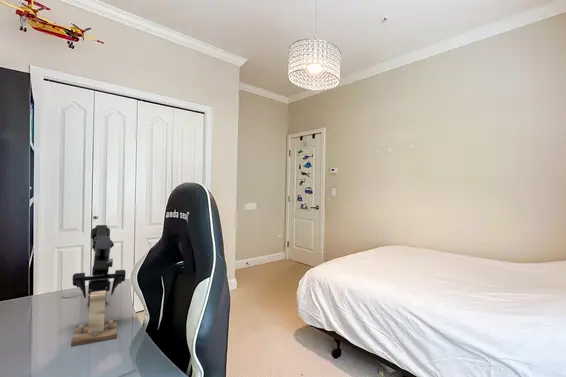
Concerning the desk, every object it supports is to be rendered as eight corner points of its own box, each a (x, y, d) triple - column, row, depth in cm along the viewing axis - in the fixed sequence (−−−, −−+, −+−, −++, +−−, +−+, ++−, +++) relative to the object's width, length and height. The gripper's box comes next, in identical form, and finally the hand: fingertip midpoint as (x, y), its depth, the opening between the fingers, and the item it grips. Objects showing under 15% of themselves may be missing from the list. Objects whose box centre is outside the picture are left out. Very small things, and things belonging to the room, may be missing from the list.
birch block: (89, 328, 114) (91, 292, 114) (104, 326, 117) (106, 290, 117) (87, 333, 110) (90, 296, 110) (103, 331, 112) (105, 294, 113)
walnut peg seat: (75, 329, 116) (76, 319, 116) (116, 323, 123) (117, 313, 123) (71, 346, 103) (71, 334, 104) (116, 338, 110) (117, 327, 110)
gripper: (74, 253, 118) (68, 289, 109) (126, 251, 128) (125, 283, 118) (75, 268, 125) (70, 303, 115) (125, 265, 134) (124, 297, 124)
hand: (98, 296), depth 118 cm, fingers open, 9 cm apart
